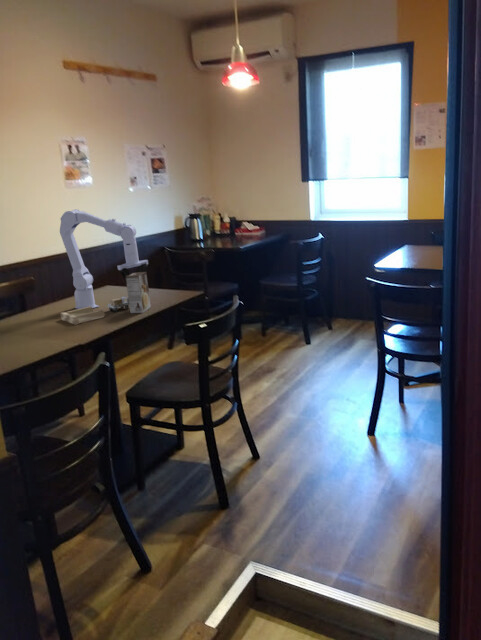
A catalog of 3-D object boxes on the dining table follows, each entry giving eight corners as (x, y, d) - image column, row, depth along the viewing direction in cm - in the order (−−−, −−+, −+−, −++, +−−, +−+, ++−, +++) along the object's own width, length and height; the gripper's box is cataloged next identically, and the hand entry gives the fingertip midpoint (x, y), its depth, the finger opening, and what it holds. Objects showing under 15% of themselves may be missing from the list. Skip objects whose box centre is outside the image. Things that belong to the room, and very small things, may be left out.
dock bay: (61, 319, 238) (60, 312, 237) (90, 312, 246) (89, 306, 245) (75, 324, 227) (74, 317, 227) (105, 317, 236) (104, 310, 235)
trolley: (108, 310, 247) (106, 299, 246) (123, 306, 252) (122, 296, 251) (114, 312, 243) (113, 301, 241) (130, 308, 248) (129, 297, 246)
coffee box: (137, 307, 248) (133, 272, 244) (151, 307, 247) (146, 271, 242) (129, 313, 239) (124, 276, 235) (143, 312, 238) (139, 275, 234)
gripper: (121, 256, 240) (126, 287, 243) (150, 250, 249) (154, 280, 252) (113, 255, 245) (118, 285, 249) (141, 249, 254) (146, 279, 257)
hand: (135, 283), depth 251 cm, fingers open, 7 cm apart
